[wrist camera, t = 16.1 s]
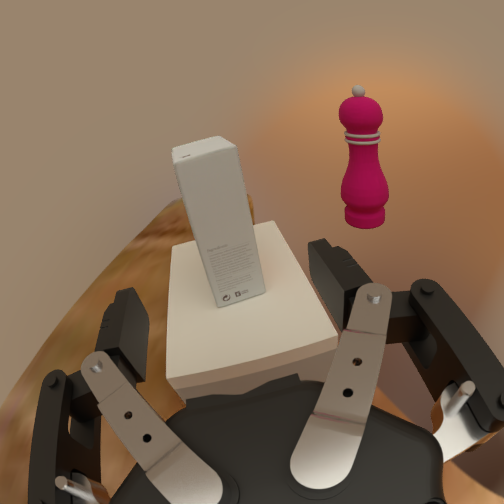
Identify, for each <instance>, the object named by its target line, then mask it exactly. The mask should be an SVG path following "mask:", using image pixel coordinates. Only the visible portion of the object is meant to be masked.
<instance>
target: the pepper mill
mask: <svg viewBox="0 0 504 504" xmlns="http://www.w3.org/2000/svg"><path fill="white" fill-rule="evenodd" d="M352 94H353V95H354V96H355V97H351V98H348V99H346V100H345V101H344V102H343V103H342V104H341V106H340V108H339V120H340V122H341V123H342V124H343V126H344V127H345V128H346V129H347V131H345V132H344V134H345V135H346V136H345V137H346V138H345V141H346V142H347V143H348V145H349V164H348V167H347V170H346V173H345V175H344V178H343V181H342V185H341V198H342V200H343V201H344V202H345V204H346V205H347V206H346V207H345V220H346V222H347V223H348V224H349V225H351V226H353V227H356V228H360V229H371V228H376V227H379V226H380V225H382V224H383V223H384V221H385V209H384V207H383V206H384V205H385V203H386V202H387V201H388V198H389V191H388V185H387V181H386V179H385V177H384V174H383V172H382V170H381V167H380V164H379V160H378V143H379V142H380V141H381V139H380V132H379V131H377V130H378V128H379V126H380V125H381V124H382V121H383V114H382V110H381V108H380V106H379V104H378V103H377V102H376V101H374V100H373V99H371V98H368V97H364V94H365V90H364V88H363V87H362V86H360V85H356V86H354V87H353V88H352Z"/></svg>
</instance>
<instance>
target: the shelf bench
mask: <svg viewBox="0 0 504 504" xmlns="http://www.w3.org/2000/svg"><path fill="white" fill-rule="evenodd" d="M253 228H254V233H255V239H256V244H257V249H258V254H259V259H260V264H261V269H262V274H263V279H264V284H265V289H266V291H265V292H264V293H262V294H259V295H256V296H253V297H250V298H247V299H244V300H241V301H238V302H235V303H232V304H229V305H225V306H222V307H217V305H216V302H215V299H214V296H213V293H212V290H211V287H210V284H209V281H208V278H207V275H206V272H205V269H204V266H203V263H202V260H201V257H200V254H199V250H198V247H197V244H196V241H195V240H194V241H190V242H187V243H183V244H179V245H175V246H172V257H171V269H170V283H169V299H168V319H167V349H166V379H167V380H168V382H169V383H170V385H171V386H172V387H173V389H174V390H175V391H176V392H177V394H178V395H179V396H180V398H181V399H182V400H183V402H184V403H185V404H186V399H190V398H196V397H201V396H206V395H211V394H228V395H237V394H244V393H246V392H248V391H250V390H253V389H255V388H257V387H259V386H261V385H263V384H264V383H266V382H268V381H271V380H274V379H278V378H282V377H285V376H289V375H292V374H295V373H298V375H299V378H300V380H314V381H321V382H325V381H326V378H327V375H328V373H329V370H330V367H331V364H332V362H333V359H334V356H335V353H336V350H337V346H338V334H337V332H336V330H335V328H334V326H333V325H332V323H331V321H330V319H329V318H328V315H327V314H326V312H325V310H324V308H323V307H322V305H321V303H320V301H319V299H318V298H317V295H316V294H315V292H314V290H313V288H312V287H311V285H310V283H309V281H308V279H307V278H306V276H305V274H304V272H303V271H302V269H301V267H300V265H299V263H298V262H297V260H296V258H295V256H294V255H293V253H292V251H291V250H290V248H289V246H288V244H287V243H286V241H285V239H284V237H283V236H282V234H281V232H280V231H279V229H278V227H277V226H276V224H275V222H274V221H269V222H265V223H261V224H257V225H253Z"/></svg>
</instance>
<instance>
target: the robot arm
mask: <svg viewBox="0 0 504 504" xmlns="http://www.w3.org/2000/svg"><path fill="white" fill-rule="evenodd" d="M308 255H309V268H310V275H311V278H312V281H313V283H314V285H315V287H316V288H317V290H318V292H319V294H320V295H321V297H322V299H323V301H324V302H325V304H326V306H327V307H328V309H329V311H330V313H331V315H332V316H333V318H334V320H335V322H336V323H337V325H338V327H339V329H340V331H341V332H342V335H341V338H340V341H339V344H338V347H337V350H336V353H335V356H334V359H333V362H332V364H331V367H330V370H329V373H328V375H327V378H326V381H325V382H321V381H314V380H300V378H299V375H298V373H295V374H292V375H289V376H285V377H282V378H278V379H274V380H271V381H268V382H266V383H264V384H263V385H261V386H259V387H257V388H255V389H253V390H250V391H248V392H246V393H244V394H237V395H228V394H211V395H206V396H201V397H196V398H190V399H186V408H184V409H182V410H180V411H178V412H177V413H175V414H174V415H172V416H171V417H170V418H169V419H168V420H167V421H166V422H165V421H164V420H163V419H162V418H161V416H160V415H159V414H158V413H157V412H156V411H155V410H154V409H153V408H152V407H151V406H150V404H149V403H148V402H147V401H146V400H145V399H144V398H143V397H142V395H141V394H140V393H139V392H138V391H137V390H136V383H139V382H145V377H146V360H147V346H148V334H149V317H148V314H147V312H146V310H145V308H144V306H143V304H142V302H141V300H140V299H139V297H138V295H137V293H136V291H135V289H134V288H133V287H131V288H127V289H123V290H119V291H117V293H116V296H115V300H114V303H112V304H110V305H109V306H108V308H107V309H106V311H105V312H104V315H103V319H102V323H101V327H100V328H101V329H100V331H99V335H98V339H97V343H96V347H95V352H93V353H91V354H90V355H88V356H87V357H86V358H85V359H84V361H83V363H82V365H81V370H79V371H77V372H75V373H73V374H71V375H68V376H67V375H66V374H65V373H64V372H63V371H62V370H54V371H52V372H50V373H49V374H48V375H47V376H46V377H45V378H44V380H43V383H42V387H41V391H40V396H39V401H38V406H37V411H36V417H35V423H34V430H33V437H32V445H31V454H30V465H29V480H28V504H447V502H446V500H445V497H444V493H443V484H442V473H443V464H445V463H446V462H448V461H450V460H452V459H453V458H455V457H456V456H458V455H460V454H461V453H463V452H464V451H465V452H471V451H474V450H476V449H477V448H479V447H480V446H481V445H483V444H484V443H485V442H486V441H488V440H489V439H490V438H491V437H493V435H495V434H496V433H497V432H499V431H500V430H501V429H502V428H503V427H504V368H503V366H502V365H501V363H500V362H499V360H498V359H497V358H496V356H495V355H494V353H493V352H492V350H491V349H490V348H489V346H488V345H487V343H486V342H485V341H484V340H483V338H482V337H481V335H480V334H479V333H478V331H477V330H476V329H475V327H474V326H473V325H472V324H471V322H470V321H469V320H468V319H467V317H466V316H465V315H464V313H463V312H462V311H461V310H460V308H459V307H458V306H457V305H456V304H455V302H454V301H453V300H452V299H451V298H450V297H449V295H448V294H447V293H446V292H445V291H444V290H443V288H442V287H441V286H440V285H439V284H438V283H437V282H435V281H433V280H429V279H419V280H417V281H415V282H414V283H413V284H412V285H411V289H410V291H400V292H391V291H390V290H389V288H387V287H386V286H384V285H382V284H379V283H373V282H372V280H371V279H370V278H369V276H368V275H367V274H366V273H365V272H364V271H363V269H362V268H361V267H360V266H359V265H358V264H357V262H356V261H355V260H354V259H353V258H352V256H351V255H350V254H349V253H348V251H346V250H344V249H342V248H341V247H339V246H337V247H333V248H332V247H331V245H330V244H329V243H328V242H327V240H326V239H325V238H323V239H319V240H316V241H312V242H309V243H308ZM392 343H402V344H403V346H404V347H405V349H406V351H407V353H408V354H409V356H410V358H411V359H412V361H413V363H414V365H415V366H416V368H417V370H418V372H419V373H420V375H421V377H422V379H423V381H424V382H425V384H426V386H427V388H428V390H429V392H430V393H431V395H432V397H433V399H434V401H435V404H434V406H433V407H432V410H431V420H432V423H433V432H432V433H430V432H429V431H427V430H426V429H424V428H422V427H420V426H417V425H415V424H413V423H410V422H408V421H406V420H404V419H401V418H399V417H397V416H395V415H392V414H390V413H388V412H386V411H384V410H382V409H380V408H377V407H375V406H373V405H371V404H372V400H373V396H374V392H375V388H376V384H377V380H378V376H379V371H380V367H381V362H382V357H383V353H384V347H385V344H392ZM101 415H103V416H104V417H105V419H106V420H107V422H108V423H109V425H110V426H111V428H112V429H113V430H114V432H115V433H116V435H117V436H118V437H119V439H120V440H121V442H122V443H123V444H124V446H125V447H126V448H127V450H128V451H129V452H130V453H131V455H132V456H133V457H134V459H135V460H136V461H137V463H136V464H135V466H134V467H133V469H132V470H131V472H130V473H129V474H128V476H127V477H126V479H125V480H124V481H123V483H122V484H121V486H120V487H119V488H118V490H117V491H116V493H115V494H114V495H113V497H112V498H110V497H109V495H108V492H107V490H106V488H105V487H104V486H103V485H102V484H101V466H100V436H101ZM69 416H71V426H70V434H69V432H68V420H69Z"/></svg>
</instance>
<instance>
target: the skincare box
mask: <svg viewBox="0 0 504 504" xmlns="http://www.w3.org/2000/svg"><path fill="white" fill-rule="evenodd" d="M172 160H173V166H174V170H175V174H176V177H177V181H178V185H179V189H180V192H181V194H182V199H183V202H184V205H185V208H186V212H187V215H188V218H189V222H190V225H191V228H192V231H193V235H194V238H195V241H196V244H197V247H198V250H199V254H200V257H201V260H202V263H203V266H204V269H205V272H206V275H207V278H208V281H209V284H210V287H211V290H212V293H213V296H214V299H215V302H216V305H217V307H222V306H225V305H229V304H232V303H235V302H238V301H241V300H244V299H247V298H250V297H253V296H256V295H259V294H262V293H264V292H265V291H266V289H265V284H264V279H263V274H262V269H261V264H260V259H259V254H258V249H257V244H256V239H255V233H254V228H253V224H252V219H251V214H250V209H249V204H248V199H247V194H246V189H245V184H244V179H243V174H242V169H241V164H240V159H239V155H238V150H237V146H236V145H234V144H232V143H230V142H229V141H227V140H226V139H224V138H222V137H220V136H215V137H211V138H207V139H203V140H199V141H196V142H192V143H188V144H184V145H181V146H177V147H174V148H172Z"/></svg>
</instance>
